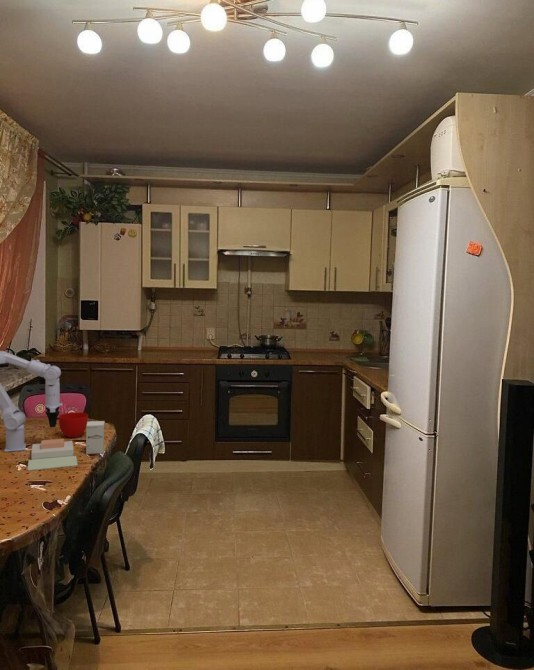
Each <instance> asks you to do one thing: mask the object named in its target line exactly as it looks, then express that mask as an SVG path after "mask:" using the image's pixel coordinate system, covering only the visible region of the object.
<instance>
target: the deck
mask: <svg viewBox="0 0 534 670" xmlns="http://www.w3.org/2000/svg"><path fill="white" fill-rule="evenodd" d="M74 453H75V452H74V443H73V440H67V441H64V447H61V448H49V449H41V443H33V444H32V445H31V454H30V455H31V460H36V459H47V458H58V457H69V456H75V455H74Z"/></svg>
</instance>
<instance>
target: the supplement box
mask: <svg viewBox="0 0 534 670" xmlns="http://www.w3.org/2000/svg"><path fill="white" fill-rule="evenodd" d="M105 424H106V422H105V420H100V421H99V420H98V421H97V420H96V421H92V420H91V421H87V426H86V429H85V430H86V435H85V436H86V437H85V440H86V441H85V447H86V448H85V454H86V455H91V454H94V455H95V454H104V451H105Z"/></svg>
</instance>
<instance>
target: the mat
mask: <svg viewBox="0 0 534 670" xmlns="http://www.w3.org/2000/svg"><path fill="white" fill-rule="evenodd" d="M70 466H71V467H78V459H77V455H74V456H69V457H58V458H47V459H36V460H32V459H28V463H27V471H26V472H29V471H39V470H40V471H41V470H51V469H61V467H62V468H69V467H70Z"/></svg>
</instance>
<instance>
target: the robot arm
mask: <svg viewBox="0 0 534 670" xmlns="http://www.w3.org/2000/svg"><path fill="white" fill-rule="evenodd" d="M1 364H10V365H12V366H13V365H14V366H15V367H16V366H17V367H20V368H24V369H26V371H27V372H28V373H30V374H31V375H32V374H33V375H35V376H38V377H40V378H43V379H45V384H44V385H45V392H44V393H45V395H44V397H45V399H44V400H45V404H44V406H45V407H44V408H45V409H46V411H45V415H46V417H47V419H48V424H49V428H56V426H57V421H58V418H59V415H60V407H62V406H64V405H63V402H62V403H60V402H61V401H60V400H61V397H60V395H61V394H60V393H61V390H60V388H61V387H60V384H61V383H60V377H61V375H62V371H61V369H60V367H58V366H56V365H51V364H49V363H47V364H46V363H44V362H41V361H40V359H36V360H35V359H32V360H30V361H29V360H27V359H25V358H22V357H19V356H18V355H14V354H13V353H9V352H7V351H3V350H0V365H1ZM0 411H1V419H2V420H3V426H4V428H5V447H4V450H3V451H4V453H6V452H7V453H8V452H9V453H10V452H19V451H25V450H26V447H27V443H26V442H25V425H24V424H25V422H26V420H27V417H26V416H27V415H26V414H25V413H24V412H23V411H21V410H20V408H19V407H18V406H16V405H15V404H14V402H13V401H12V399H11V398H10V396H9V394H8V393H7V391H6V389H5V387H4V386H3V385H2V383H1V382H0Z"/></svg>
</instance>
